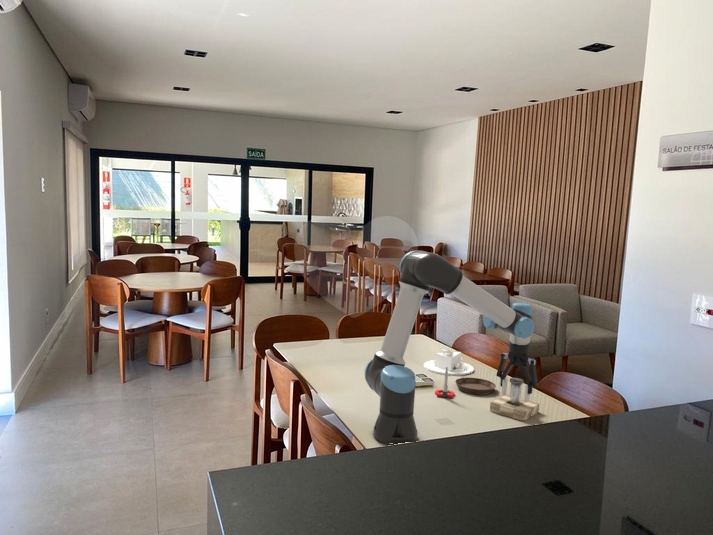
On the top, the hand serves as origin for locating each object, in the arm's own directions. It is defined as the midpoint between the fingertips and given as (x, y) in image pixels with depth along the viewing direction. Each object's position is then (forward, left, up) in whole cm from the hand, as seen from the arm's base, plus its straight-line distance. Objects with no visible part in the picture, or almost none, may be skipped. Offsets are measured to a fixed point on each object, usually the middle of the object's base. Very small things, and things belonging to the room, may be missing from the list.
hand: (515, 398), depth 212 cm
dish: (+32, +51, -6) cm, 61 cm away
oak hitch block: (0, 0, -5) cm, 5 cm away
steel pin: (0, 0, -5) cm, 5 cm away
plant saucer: (+13, +25, -6) cm, 29 cm away
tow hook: (-4, +30, -6) cm, 31 cm away
